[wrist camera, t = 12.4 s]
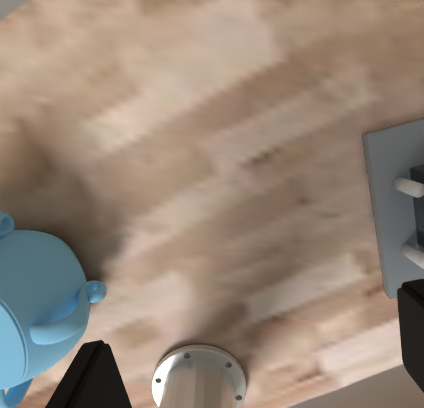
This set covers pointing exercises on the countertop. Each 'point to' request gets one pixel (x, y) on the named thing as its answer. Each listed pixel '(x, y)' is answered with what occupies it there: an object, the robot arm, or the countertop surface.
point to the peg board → (396, 199)
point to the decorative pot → (38, 306)
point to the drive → (419, 205)
